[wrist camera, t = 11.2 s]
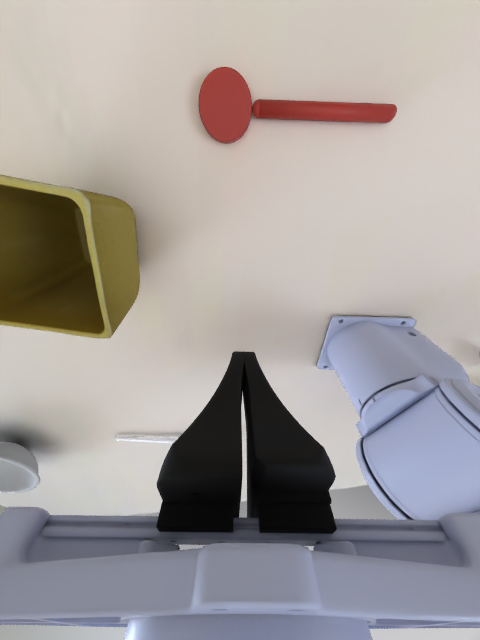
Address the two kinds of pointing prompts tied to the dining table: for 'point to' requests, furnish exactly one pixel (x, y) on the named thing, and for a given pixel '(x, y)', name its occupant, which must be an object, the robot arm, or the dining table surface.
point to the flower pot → (65, 259)
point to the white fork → (147, 439)
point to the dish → (17, 468)
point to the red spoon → (270, 107)
